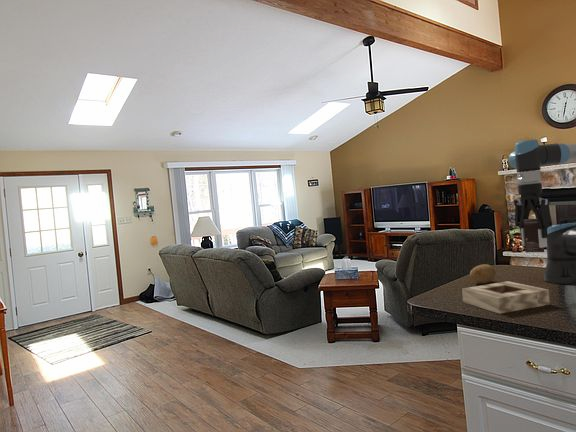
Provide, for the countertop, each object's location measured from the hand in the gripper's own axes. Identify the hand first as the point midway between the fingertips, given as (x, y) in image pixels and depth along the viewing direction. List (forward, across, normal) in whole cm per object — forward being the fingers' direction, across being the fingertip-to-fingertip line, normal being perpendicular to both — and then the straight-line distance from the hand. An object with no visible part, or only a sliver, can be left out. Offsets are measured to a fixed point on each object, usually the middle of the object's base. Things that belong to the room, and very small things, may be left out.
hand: (534, 246), depth 155 cm
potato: (+18, -27, -2) cm, 33 cm away
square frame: (+18, +3, -18) cm, 25 cm away
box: (+2, 0, 0) cm, 2 cm away
